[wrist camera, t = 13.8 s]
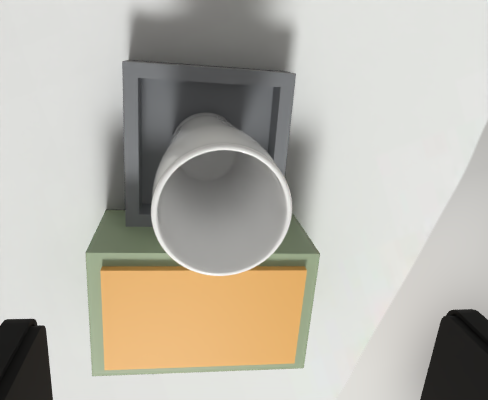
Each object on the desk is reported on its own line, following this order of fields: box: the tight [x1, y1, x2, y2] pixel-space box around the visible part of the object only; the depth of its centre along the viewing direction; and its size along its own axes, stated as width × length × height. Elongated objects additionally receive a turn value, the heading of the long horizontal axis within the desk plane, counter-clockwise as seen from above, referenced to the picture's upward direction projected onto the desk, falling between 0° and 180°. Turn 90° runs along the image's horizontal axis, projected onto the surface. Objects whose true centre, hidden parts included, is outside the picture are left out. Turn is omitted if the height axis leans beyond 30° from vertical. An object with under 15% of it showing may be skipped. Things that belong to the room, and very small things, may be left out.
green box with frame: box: [86, 60, 320, 376], centre depth 32 cm, size 22×16×9 cm
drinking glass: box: [151, 112, 292, 276], centre depth 27 cm, size 7×7×15 cm
